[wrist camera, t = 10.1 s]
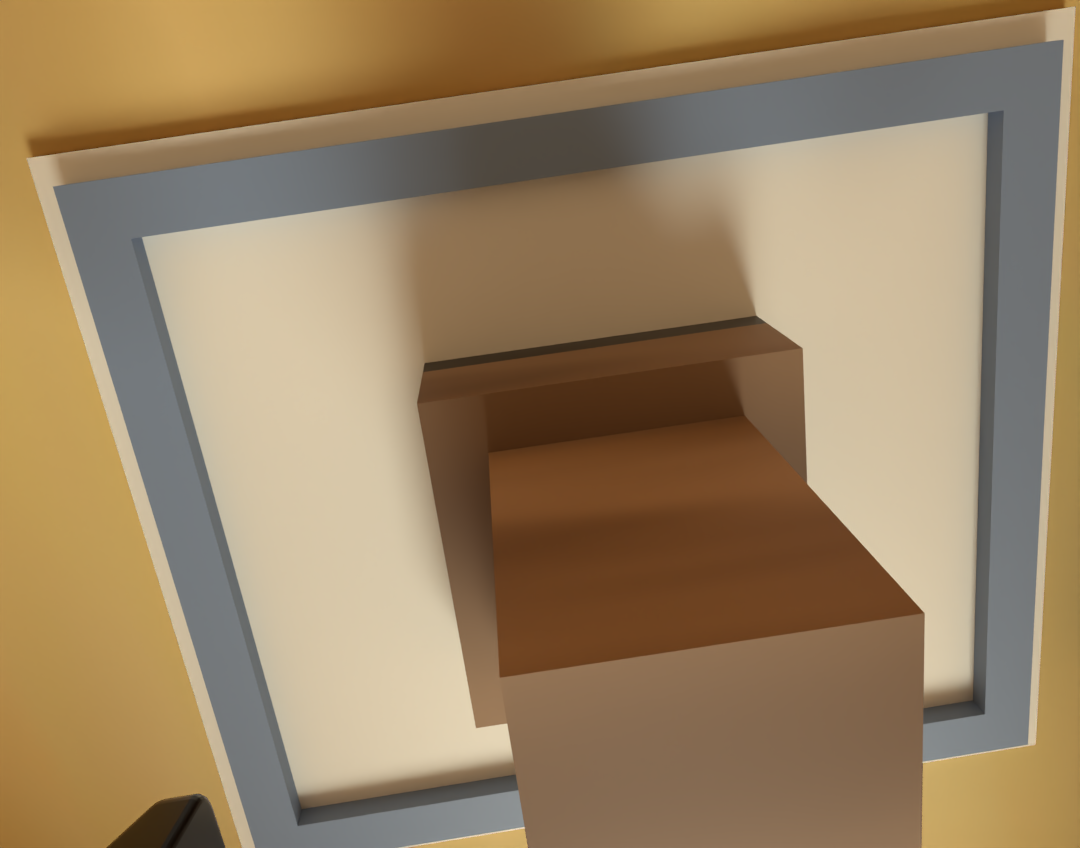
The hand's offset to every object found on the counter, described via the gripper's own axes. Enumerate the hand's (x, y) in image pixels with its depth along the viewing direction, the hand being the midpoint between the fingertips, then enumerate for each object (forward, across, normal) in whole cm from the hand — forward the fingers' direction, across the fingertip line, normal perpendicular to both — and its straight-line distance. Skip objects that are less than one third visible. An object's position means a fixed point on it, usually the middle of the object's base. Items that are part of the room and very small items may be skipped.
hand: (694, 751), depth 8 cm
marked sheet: (+6, 0, 0) cm, 6 cm away
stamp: (+6, 0, 0) cm, 6 cm away
